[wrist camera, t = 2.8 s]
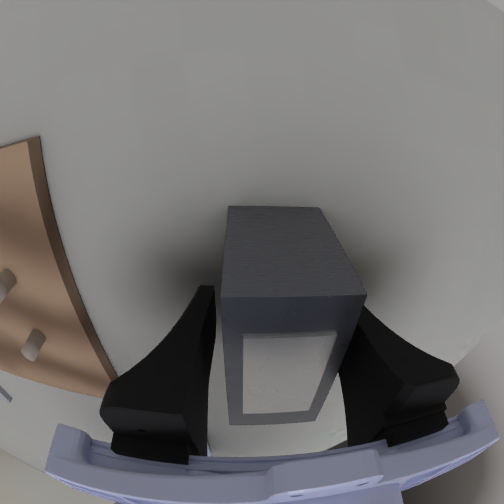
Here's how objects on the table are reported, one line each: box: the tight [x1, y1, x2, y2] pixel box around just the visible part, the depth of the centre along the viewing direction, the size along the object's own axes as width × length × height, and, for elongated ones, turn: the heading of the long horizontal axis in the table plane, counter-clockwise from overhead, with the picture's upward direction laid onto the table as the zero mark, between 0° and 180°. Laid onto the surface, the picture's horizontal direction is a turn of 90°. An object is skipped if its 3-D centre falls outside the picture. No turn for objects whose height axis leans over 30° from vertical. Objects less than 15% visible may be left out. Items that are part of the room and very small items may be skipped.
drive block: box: [220, 206, 367, 425], centre depth 12 cm, size 8×4×6 cm, turn 179°
